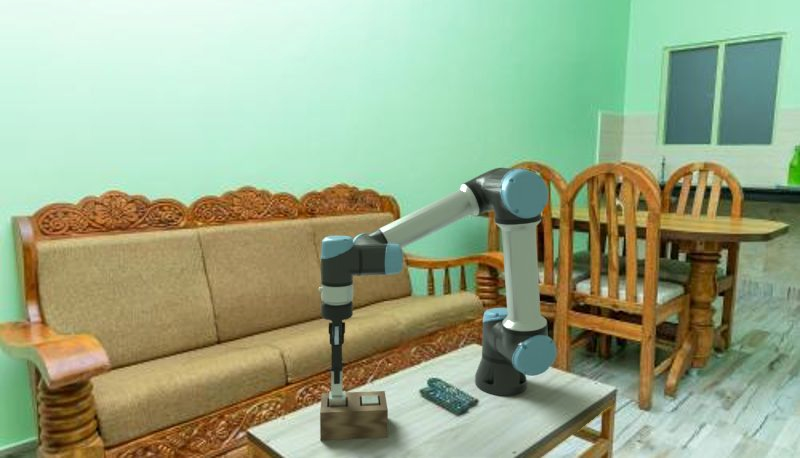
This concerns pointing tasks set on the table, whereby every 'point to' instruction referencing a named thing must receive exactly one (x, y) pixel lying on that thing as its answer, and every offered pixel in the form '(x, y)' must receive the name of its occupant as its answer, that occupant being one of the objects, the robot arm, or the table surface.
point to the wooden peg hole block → (354, 418)
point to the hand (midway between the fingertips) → (336, 393)
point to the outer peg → (337, 400)
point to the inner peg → (370, 400)
